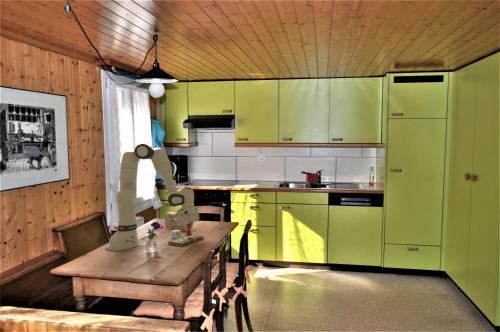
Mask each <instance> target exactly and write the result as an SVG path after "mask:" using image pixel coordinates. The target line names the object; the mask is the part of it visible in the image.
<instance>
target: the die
mask: <svg viewBox="0 0 500 332" xmlns="http://www.w3.org/2000/svg"><path fill="white" fill-rule="evenodd" d="M170 236H171V239H177V238H180V237H182V231H181V230H173V229H172V230H171V231H170Z"/></svg>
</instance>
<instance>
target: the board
mask: <svg viewBox="0 0 500 332" xmlns="http://www.w3.org/2000/svg"><path fill="white" fill-rule="evenodd" d="M203 239H204V235H200V234H193V233H192V236H186V235H184V236H181V237H180V238H177V239H176V238H173V239H171V240H169V241H167V244H168V245H171V246H176V247H185V246H187V244H188V245H190V244H193V243H196V242H198V241H201V240H203Z"/></svg>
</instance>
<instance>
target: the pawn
mask: <svg viewBox="0 0 500 332" xmlns="http://www.w3.org/2000/svg"><path fill="white" fill-rule="evenodd" d="M187 228H188V230H185V236H192V234H193V233H192V229H191V221H190V222H189V224H187Z"/></svg>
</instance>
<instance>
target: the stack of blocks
mask: <svg viewBox="0 0 500 332" xmlns="http://www.w3.org/2000/svg"><path fill="white" fill-rule="evenodd" d="M176 212H177V211H176ZM176 212H175V211H166V212H165V211H164V226H166V227H165V228H167V227H168V228H167V229H169V228H170V230H172V231H173V230H181V232H183V231H186V230H185V228H184V226H183V225H182V226H178V225H177V221H176V219H177V215H178V214H177V213H176Z"/></svg>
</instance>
